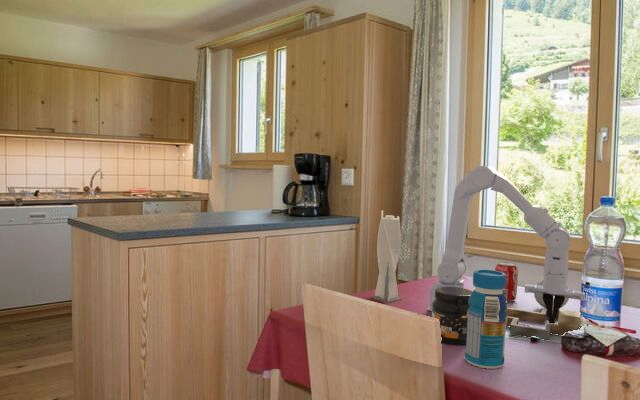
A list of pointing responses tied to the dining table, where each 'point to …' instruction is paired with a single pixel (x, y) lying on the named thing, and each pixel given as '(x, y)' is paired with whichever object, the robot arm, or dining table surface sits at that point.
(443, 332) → the supplement container
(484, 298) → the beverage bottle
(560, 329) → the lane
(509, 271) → the soda can
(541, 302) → the donut
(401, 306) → the dining table surface
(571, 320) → the block
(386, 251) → the skyscraper
